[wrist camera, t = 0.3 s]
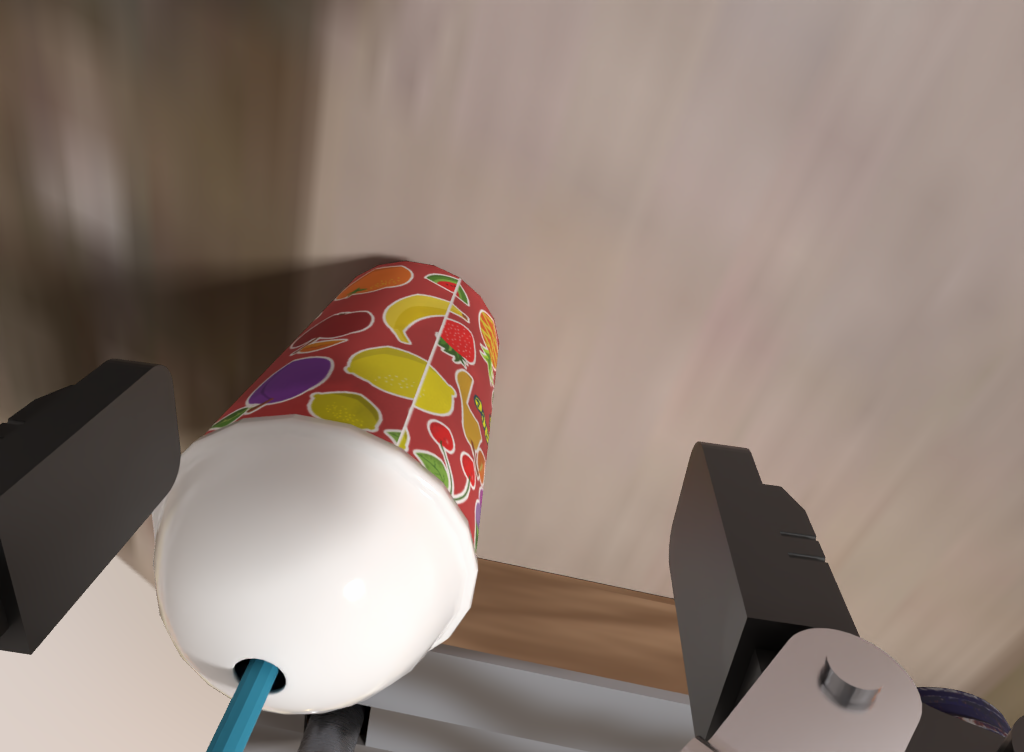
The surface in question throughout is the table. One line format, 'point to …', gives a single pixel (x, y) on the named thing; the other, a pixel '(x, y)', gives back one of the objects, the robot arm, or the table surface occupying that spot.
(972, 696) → the storage jar
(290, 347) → the smoothie
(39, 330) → the table surface
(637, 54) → the table surface
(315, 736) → the knob
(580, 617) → the mount
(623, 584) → the table surface
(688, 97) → the table surface
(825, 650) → the robot arm
